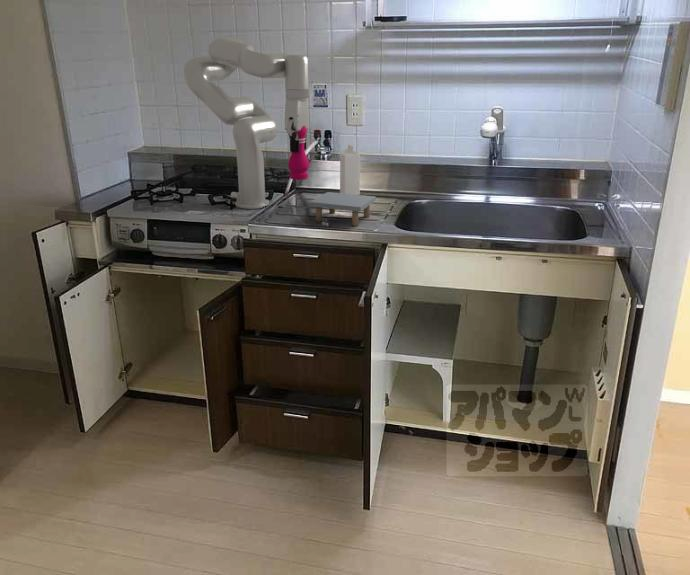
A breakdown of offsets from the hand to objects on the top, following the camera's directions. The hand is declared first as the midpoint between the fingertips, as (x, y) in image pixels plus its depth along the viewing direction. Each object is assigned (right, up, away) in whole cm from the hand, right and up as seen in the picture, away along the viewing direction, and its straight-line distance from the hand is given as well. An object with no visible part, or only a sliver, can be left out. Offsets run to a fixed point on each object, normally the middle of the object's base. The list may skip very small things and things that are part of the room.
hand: (298, 150), depth 205 cm
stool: (+15, -23, +3) cm, 28 cm away
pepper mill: (0, -9, +4) cm, 10 cm away
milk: (+18, -16, +22) cm, 32 cm away
